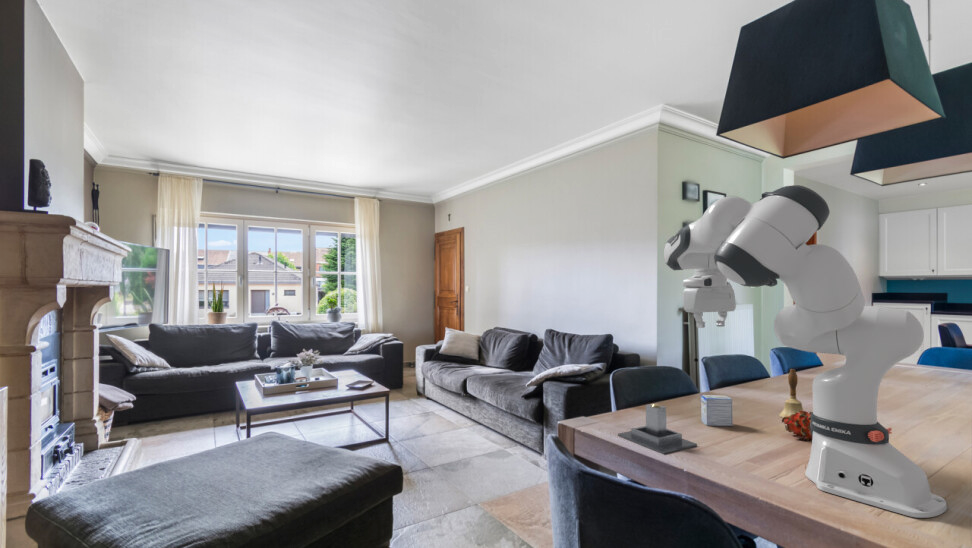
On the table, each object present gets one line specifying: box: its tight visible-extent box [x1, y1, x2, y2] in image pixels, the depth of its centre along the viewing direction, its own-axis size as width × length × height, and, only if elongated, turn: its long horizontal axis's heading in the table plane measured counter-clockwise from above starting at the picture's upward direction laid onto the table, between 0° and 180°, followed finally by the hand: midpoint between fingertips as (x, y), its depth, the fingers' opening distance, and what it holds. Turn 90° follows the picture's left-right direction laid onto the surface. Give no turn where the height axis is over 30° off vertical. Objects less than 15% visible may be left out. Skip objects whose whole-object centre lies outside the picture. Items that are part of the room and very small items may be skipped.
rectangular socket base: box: [617, 425, 698, 455], centre depth 123 cm, size 16×13×3 cm
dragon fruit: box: [781, 410, 813, 442], centre depth 126 cm, size 8×8×12 cm
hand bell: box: [778, 368, 804, 419], centre depth 147 cm, size 8×8×16 cm
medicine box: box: [700, 394, 734, 427], centre depth 139 cm, size 8×4×9 cm, turn 84°
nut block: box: [645, 403, 667, 438], centre depth 123 cm, size 4×4×9 cm
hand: (710, 327), depth 133 cm, fingers open, 8 cm apart
